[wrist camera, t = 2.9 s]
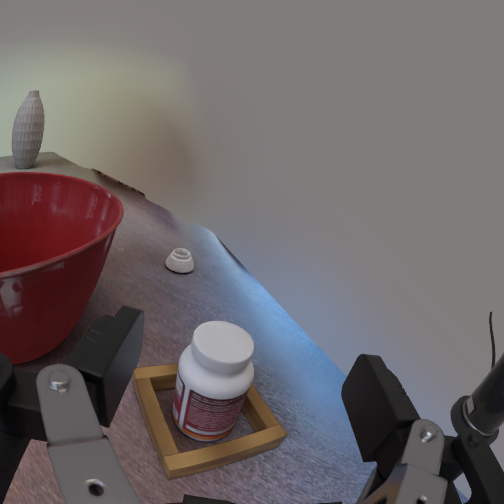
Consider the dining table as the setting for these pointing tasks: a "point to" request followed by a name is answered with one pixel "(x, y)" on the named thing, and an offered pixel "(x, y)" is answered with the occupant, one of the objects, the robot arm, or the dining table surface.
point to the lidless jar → (180, 261)
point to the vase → (28, 131)
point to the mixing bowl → (49, 257)
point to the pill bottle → (213, 380)
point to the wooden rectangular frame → (208, 457)
